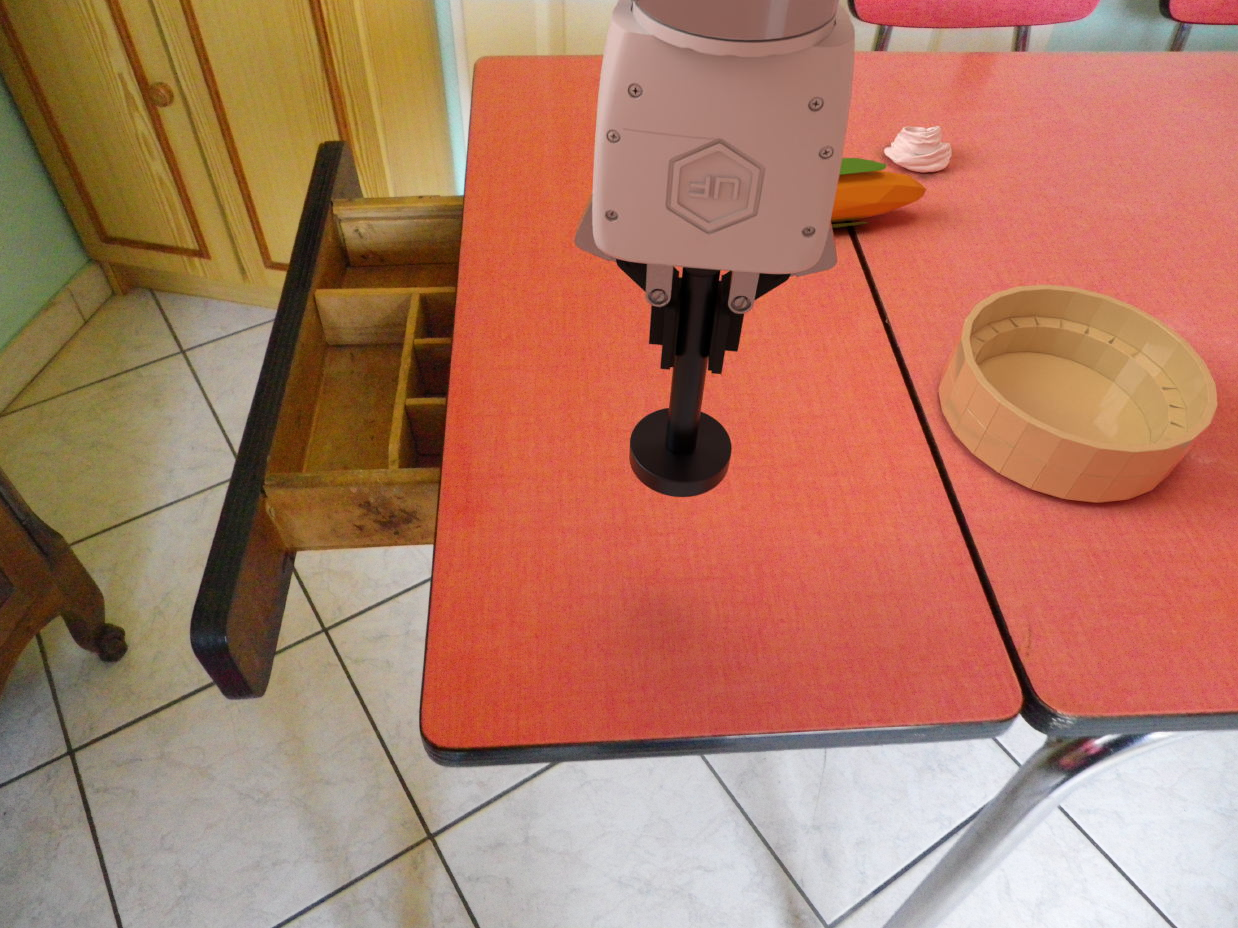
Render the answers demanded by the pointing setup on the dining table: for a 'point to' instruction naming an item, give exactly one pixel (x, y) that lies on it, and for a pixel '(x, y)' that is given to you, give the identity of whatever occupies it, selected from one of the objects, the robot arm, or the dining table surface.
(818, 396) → the dining table surface
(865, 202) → the corn
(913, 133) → the whipped cream
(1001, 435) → the bowl
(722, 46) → the robot arm
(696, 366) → the black plunger
